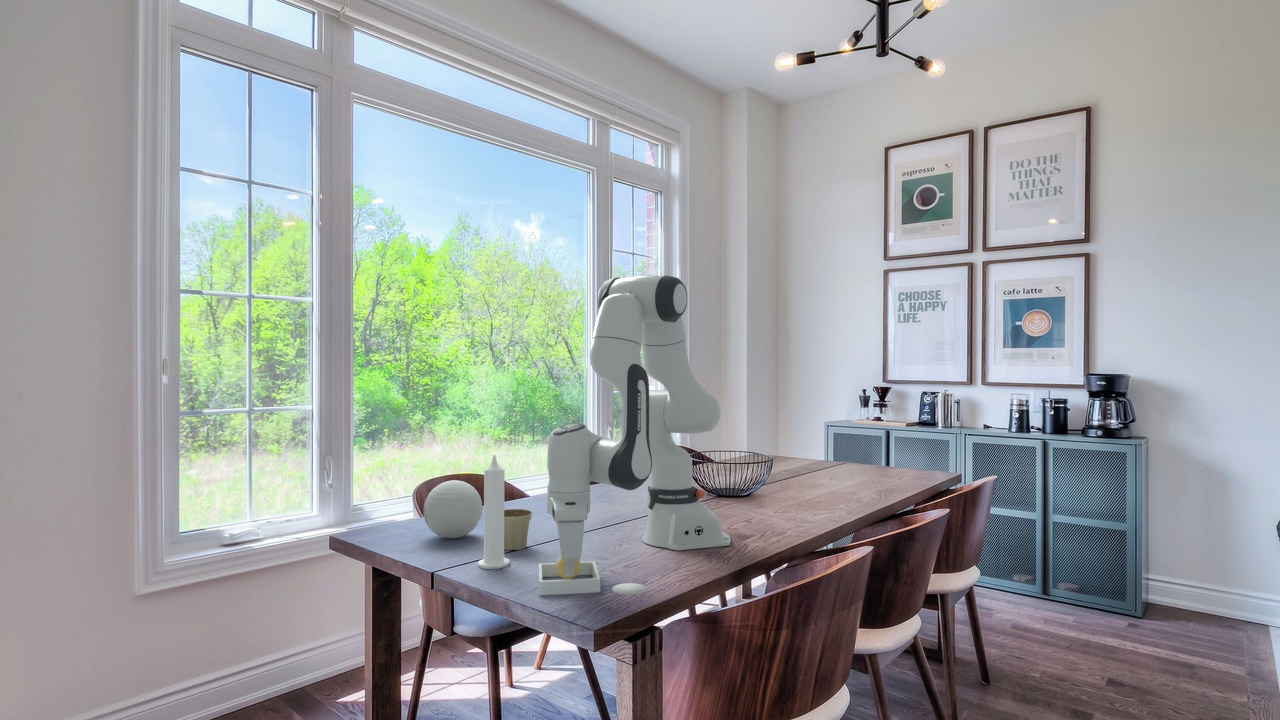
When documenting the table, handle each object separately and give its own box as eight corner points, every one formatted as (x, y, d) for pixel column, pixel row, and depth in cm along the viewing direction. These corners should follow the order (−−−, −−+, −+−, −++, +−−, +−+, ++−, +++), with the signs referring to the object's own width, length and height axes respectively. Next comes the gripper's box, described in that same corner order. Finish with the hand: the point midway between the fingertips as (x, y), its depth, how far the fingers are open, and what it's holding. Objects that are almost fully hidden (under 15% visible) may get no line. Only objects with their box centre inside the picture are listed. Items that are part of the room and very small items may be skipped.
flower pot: (524, 553, 161) (524, 517, 161) (487, 551, 162) (488, 516, 163) (538, 543, 170) (538, 509, 170) (503, 541, 172) (503, 508, 172)
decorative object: (443, 529, 185) (444, 474, 185) (492, 532, 181) (492, 477, 181) (411, 542, 170) (411, 484, 170) (463, 547, 166) (463, 487, 166)
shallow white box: (594, 575, 144) (594, 561, 144) (600, 593, 132) (600, 578, 132) (538, 577, 142) (538, 563, 142) (539, 597, 131) (539, 581, 131)
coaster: (643, 584, 138) (643, 582, 138) (649, 595, 132) (649, 593, 132) (610, 585, 137) (610, 583, 137) (614, 597, 130) (614, 595, 130)
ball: (579, 574, 140) (579, 550, 140) (581, 581, 135) (581, 557, 135) (555, 575, 140) (555, 551, 140) (556, 583, 135) (556, 558, 135)
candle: (480, 560, 155) (481, 452, 155) (511, 559, 156) (511, 452, 156) (475, 569, 148) (476, 457, 148) (507, 569, 148) (508, 456, 149)
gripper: (552, 494, 147) (551, 556, 147) (555, 514, 127) (554, 587, 127) (580, 493, 148) (580, 555, 148) (588, 513, 128) (587, 585, 128)
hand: (568, 570), depth 137 cm, fingers closed on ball, 5 cm apart
